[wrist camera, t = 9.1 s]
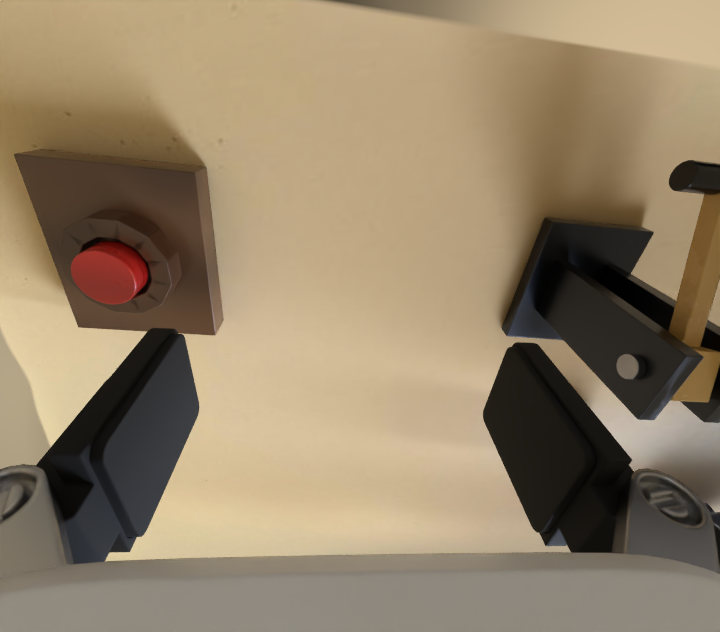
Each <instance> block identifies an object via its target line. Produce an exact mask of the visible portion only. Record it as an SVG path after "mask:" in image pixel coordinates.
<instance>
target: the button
mask: <svg viewBox="0 0 720 632" xmlns="http://www.w3.org/2000/svg"><path fill="white" fill-rule="evenodd" d="M71 275H72V278H73V280H74V282H75V284H76V285H77V286H78V288H79V289H80V290H81V291H82V292H83V293H85V294H86V295H87V296H89V297H90V298H92V299H94V300H96V301H99V302H102V303H105V304H122V303H125V302H127V301H129V300H130V299H132V298H133V297H134V296H135V295H136V294H137V293H138V292H139V291H140V290H141V289H142V288H143V287H144V286H145V285H146V283H147V281H148V268H147V265H146V263H145V261H144V260H143V258H142V257H141V256H140V255H139V254H138V253H137V252H136V251H135V250H134V249H132V248H131V247H129V246H127V245H125V244H123V243H120V242H116V241H101V242H98V243H96V244H94V245H93V246H91V247H89V248H88V249H86V250H84V251H83V252H81V253H79V254H78V255H76V256H75V258H74V259H73V261H72V263H71Z"/></svg>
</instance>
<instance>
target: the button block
mask: <svg viewBox="0 0 720 632" xmlns="http://www.w3.org/2000/svg"><path fill="white" fill-rule="evenodd" d="M14 156H15V158H16V161H17V164H18V166H19V169H20V172H21V174H22V177H23V180H24V183H25V185H26V188H27V191H28V193H29V196H30V199H31V201H32V204H33V207H34V209H35V212H36V215H37V217H38V220H39V223H40V225H41V228H42V231H43V233H44V236H45V239H46V242H47V244H48V247H49V250H50V252H51V255H52V258H53V260H54V263H55V266H56V268H57V271H58V274H59V276H60V279H61V282H62V284H63V287H64V290H65V292H66V295H67V298H68V301H69V303H70V306H71V309H72V311H73V314H74V317H75V319H76V322H77V325H78V327H82V328H99V329H116V330H133V331H149V330H150V329H151V328H172V329H176V330H177V332H178V333H184V334H201V335H216V334H217V332H218V330H219V328H220V326H221V324H222V322H223V312H222V303H221V294H220V285H219V276H218V267H217V258H216V249H215V240H214V231H213V222H212V213H211V204H210V195H209V186H208V177H207V168H206V167H203V166H193V165H184V164H175V163H165V162H156V161H146V160H137V159H128V158H118V157H109V156H100V155H90V154H81V153H72V152H62V151H53V150H44V149H40V150H34V151H28V152H22V153H16V154H14ZM101 241H116V242H120V243H123V244H125V245H127V246H129V247H131V248H132V249H134V250H135V251H136V252H137V253H138V254H139V255H140V256H141V257H142V258H143V260H144V261H145V263H146V265H147V268H148V281H147V283H146V285H145V286H144V287H143V288H142V289H141V290H140V291H139V292H138V293H137V294H136V295H135V296H134V297H133V298H132V299H130V300H129V301H127V302H125V303H122V304H105V303H102V302H99V301H96V300H94V299H92V298H90V297H89V296H87V295H86V294H85V293H83V292H82V291H81V290H80V289H79V288H78V286H77V285H76V284H75V282H74V280H73V278H72V275H71V263H72V261H73V259H74V258H75V256H76V255H78V254H79V253H81V252H83V251H84V250H86V249H88V248H89V247H91V246H93V245H94V244H96V243H98V242H101Z"/></svg>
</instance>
